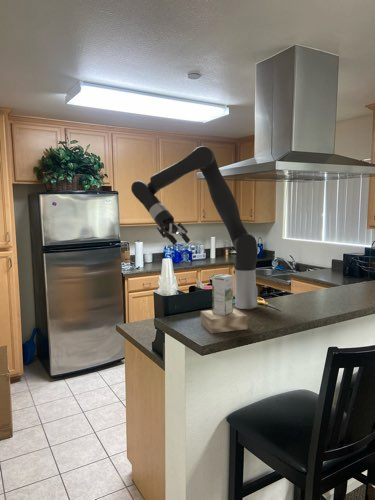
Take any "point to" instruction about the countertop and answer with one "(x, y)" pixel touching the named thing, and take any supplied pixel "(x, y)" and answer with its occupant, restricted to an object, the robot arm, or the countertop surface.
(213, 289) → the syrup box
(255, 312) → the countertop surface
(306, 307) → the countertop surface
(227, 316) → the riser block
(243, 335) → the countertop surface
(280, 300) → the countertop surface
